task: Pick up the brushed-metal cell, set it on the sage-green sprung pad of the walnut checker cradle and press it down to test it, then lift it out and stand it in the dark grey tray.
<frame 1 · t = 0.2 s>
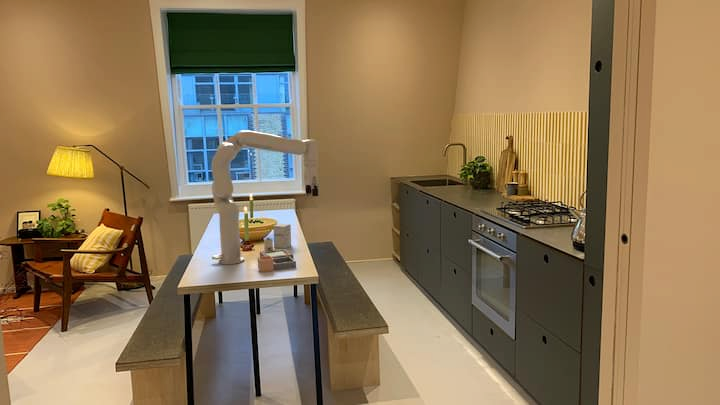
hand: (311, 195, 288), 31 cm above the table, tool pointing down, fingers open, 9 cm apart
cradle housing: (276, 258, 279), on the table
supplement box: (282, 247, 305), on the table
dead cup: (266, 270, 259), on the table
checker pad: (276, 255, 279), point 2 cm above the table, slide at 0.0 cm
cell: (268, 253, 289), on the table
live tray: (282, 266, 265), on the table
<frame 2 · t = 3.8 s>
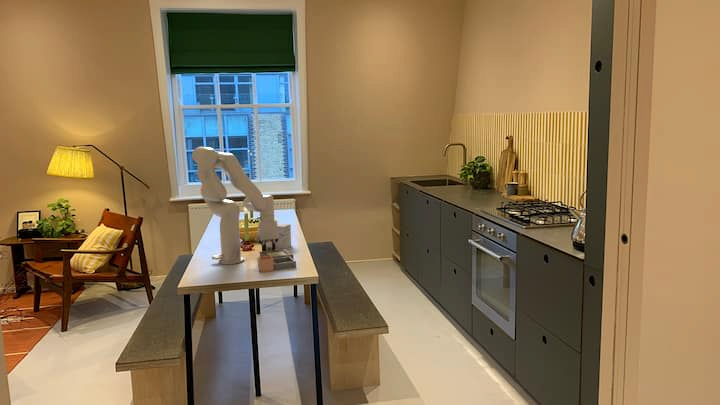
hand: (268, 251, 289), 1 cm above the table, tool pointing down, fingers closed on cell, 4 cm apart
cell: (268, 253, 289), on the table, touching gripper
everything else where it was.
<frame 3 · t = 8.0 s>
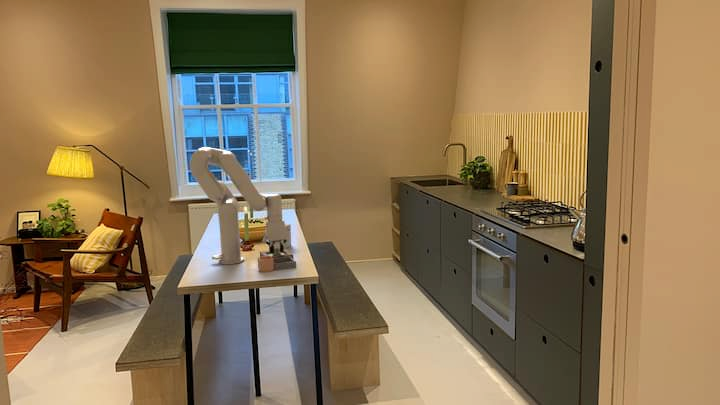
hand: (276, 252, 278), 3 cm above the table, tool pointing down, fingers closed on cell, 4 cm apart
checker pad: (276, 256, 279), point 1 cm above the table, slide at 0.6 cm, touching cell
cell: (276, 255, 279), point 2 cm above the table, touching checker pad, gripper
everything else where it was.
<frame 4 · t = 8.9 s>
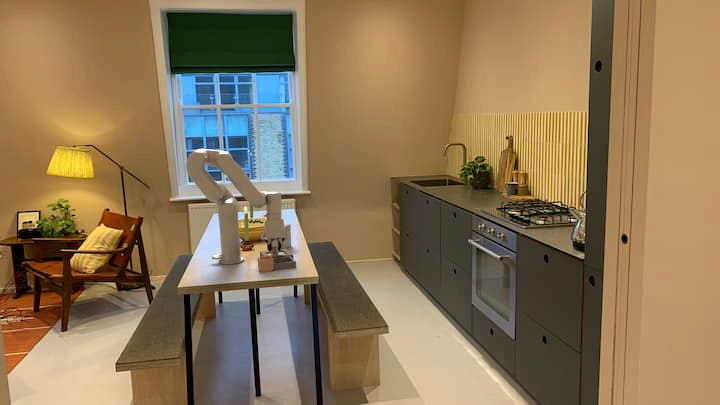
hand: (274, 250, 278), 4 cm above the table, tool pointing down, fingers closed on cell, 4 cm apart
checker pad: (276, 255, 279), point 2 cm above the table, slide at 0.3 cm
cell: (274, 253, 278), point 3 cm above the table, touching gripper
everything else where it was.
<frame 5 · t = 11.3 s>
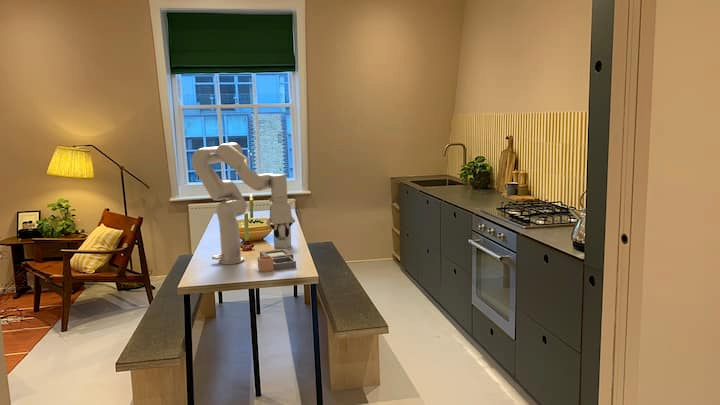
hand: (281, 236, 263), 15 cm above the table, tool pointing down, fingers closed on cell, 4 cm apart
cell: (281, 239, 263), point 13 cm above the table, touching gripper
everything else where it was.
when the fingers open (4 cm above the table, at t = 13.2 s): cell drops 2 cm, resting on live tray.
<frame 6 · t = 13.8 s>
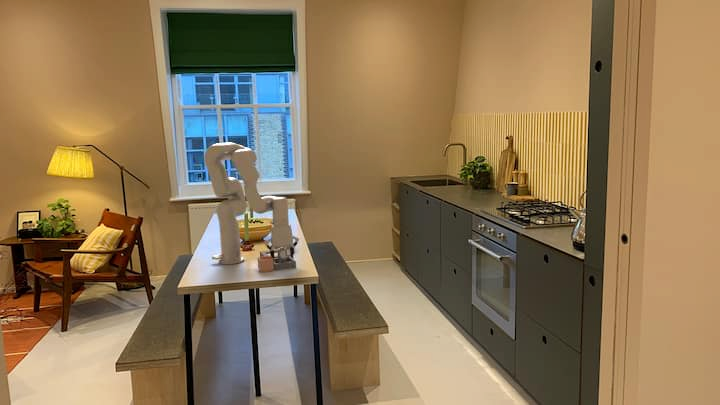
hand: (282, 256, 264), 5 cm above the table, tool pointing down, fingers open, 9 cm apart
cell: (282, 264, 265), point 1 cm above the table, touching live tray
everything else where it was.
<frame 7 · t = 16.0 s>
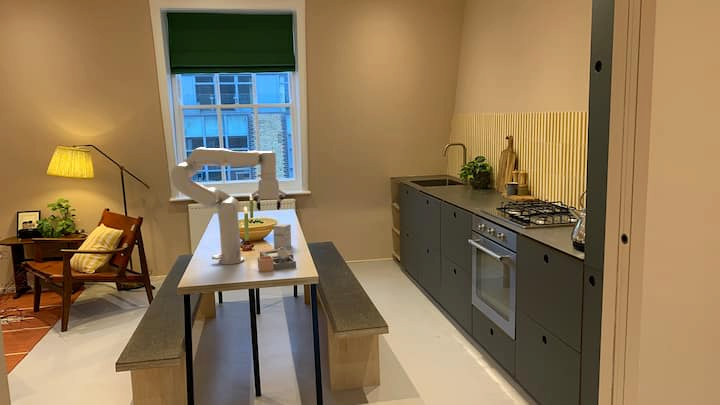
hand: (268, 209, 273), 26 cm above the table, tool pointing down, fingers open, 9 cm apart
nothing on the table moved.
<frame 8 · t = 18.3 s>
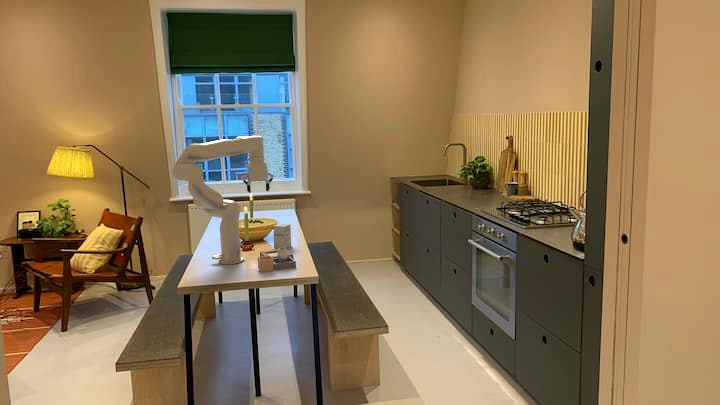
hand: (258, 191, 287), 33 cm above the table, tool pointing down, fingers open, 9 cm apart
nothing on the table moved.
at the end: cell 0.1 cm from the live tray (horizontally); cell tilted 0°; the gripper is holding nothing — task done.
